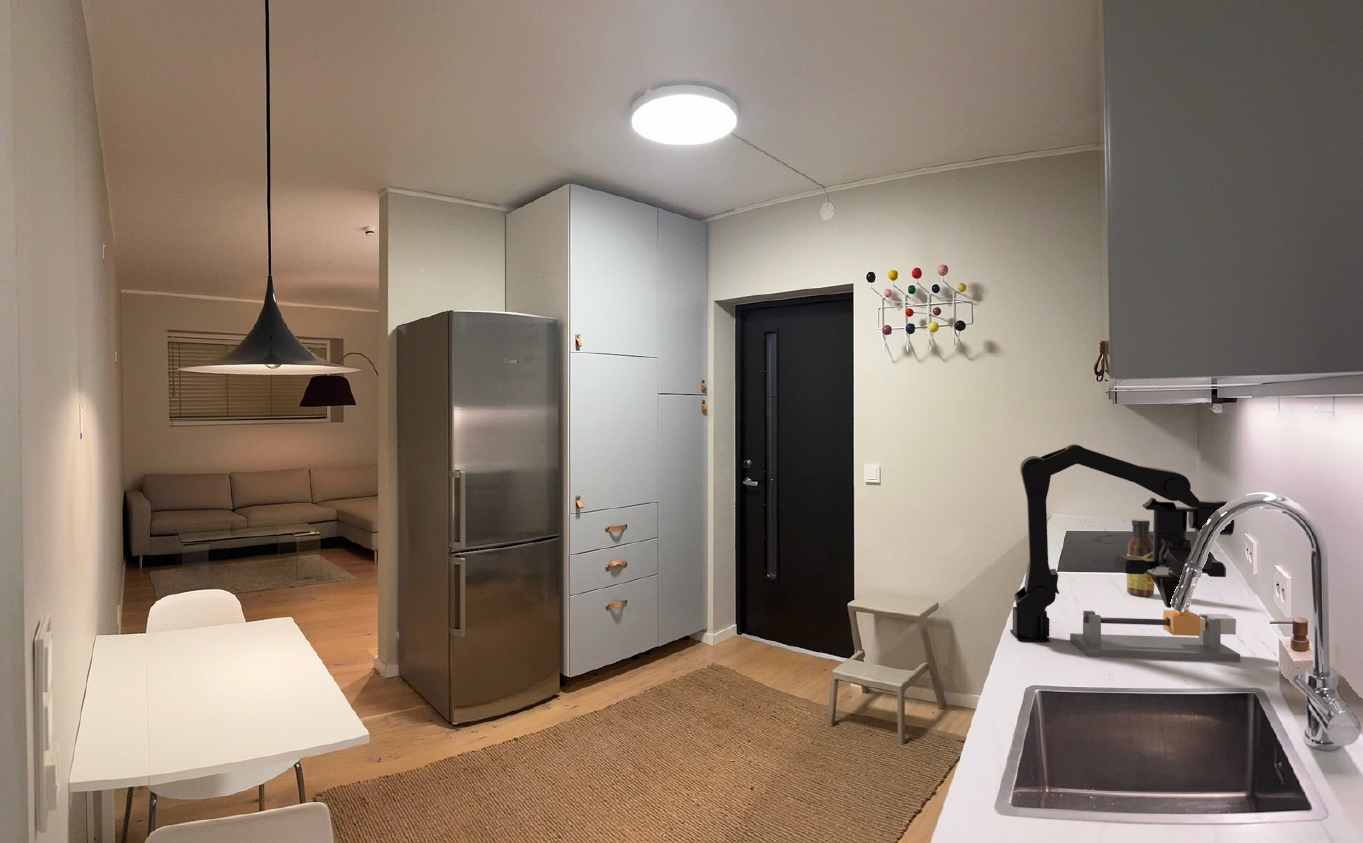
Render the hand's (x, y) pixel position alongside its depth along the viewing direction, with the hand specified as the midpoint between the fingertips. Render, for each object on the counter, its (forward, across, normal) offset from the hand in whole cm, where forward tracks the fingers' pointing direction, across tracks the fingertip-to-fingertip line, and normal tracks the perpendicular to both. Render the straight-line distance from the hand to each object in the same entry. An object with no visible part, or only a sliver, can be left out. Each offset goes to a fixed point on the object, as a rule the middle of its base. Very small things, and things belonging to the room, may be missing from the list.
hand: (1168, 607), depth 151 cm
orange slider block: (+5, +3, 0) cm, 6 cm away
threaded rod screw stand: (+9, -3, 0) cm, 10 cm away
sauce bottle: (+9, +15, +46) cm, 49 cm away
